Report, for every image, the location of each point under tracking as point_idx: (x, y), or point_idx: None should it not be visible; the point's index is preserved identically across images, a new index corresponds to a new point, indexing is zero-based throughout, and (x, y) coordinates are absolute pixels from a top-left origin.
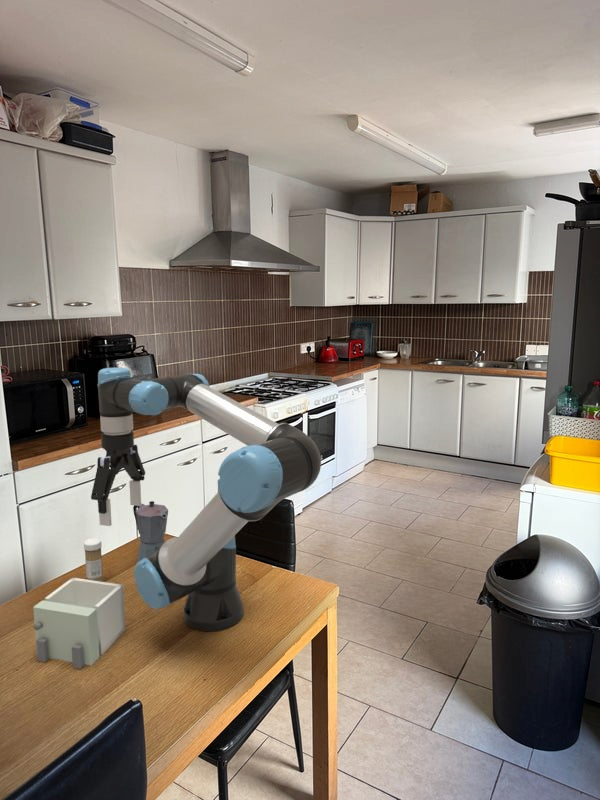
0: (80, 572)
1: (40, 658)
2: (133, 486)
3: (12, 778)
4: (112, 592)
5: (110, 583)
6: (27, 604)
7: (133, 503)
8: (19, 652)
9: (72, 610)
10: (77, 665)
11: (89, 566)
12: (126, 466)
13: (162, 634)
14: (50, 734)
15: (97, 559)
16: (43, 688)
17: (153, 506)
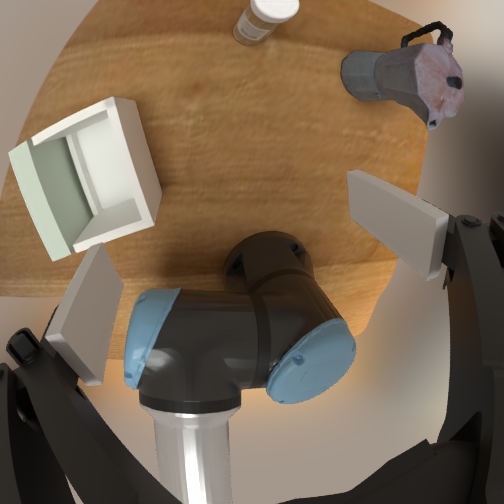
0: None
1: None
2: (410, 231)
3: None
4: (120, 232)
5: (142, 196)
6: None
7: (353, 189)
8: (43, 110)
9: (42, 223)
10: None
11: (242, 20)
12: (463, 394)
13: (187, 247)
14: (16, 278)
15: (260, 28)
16: (28, 212)
17: (450, 86)
